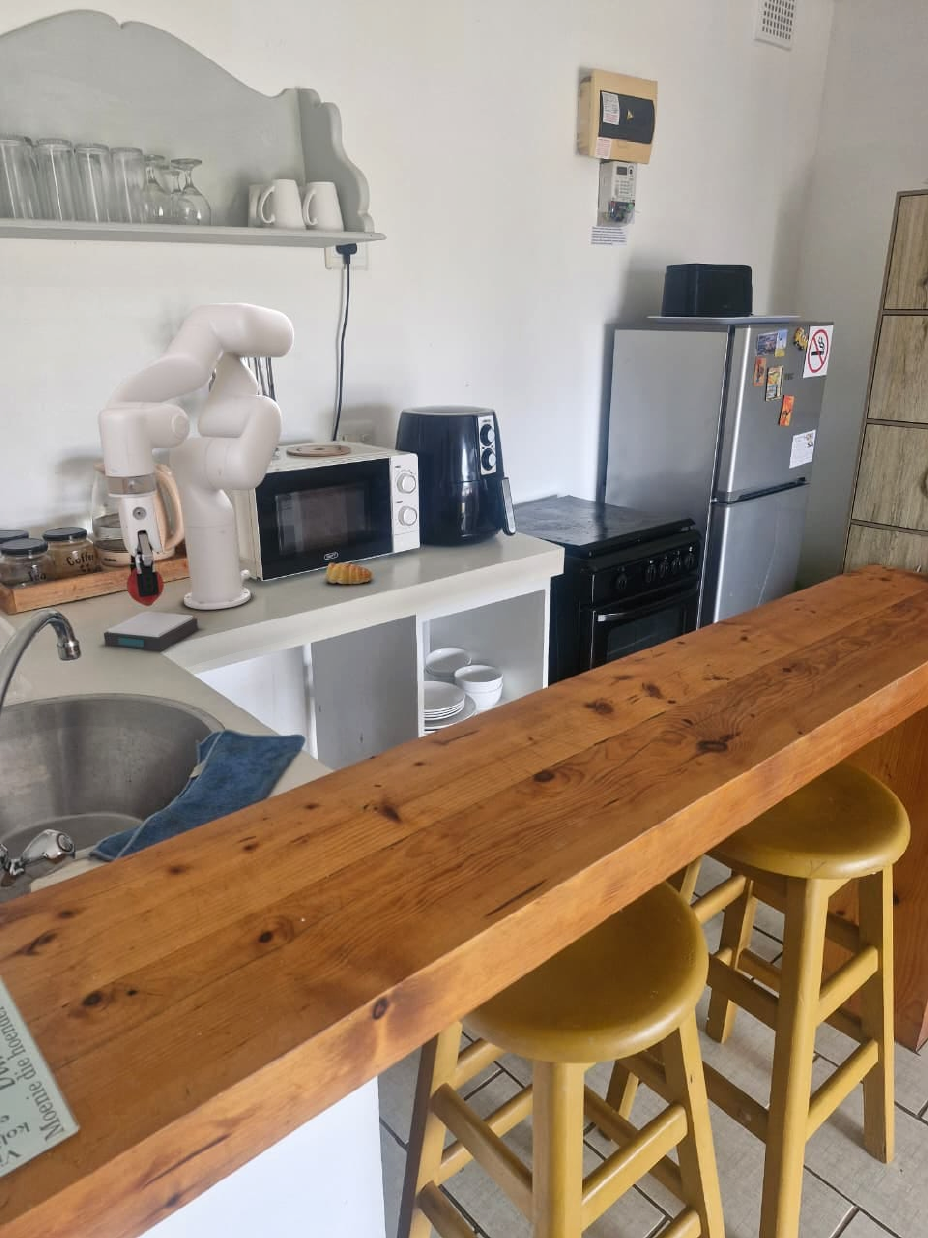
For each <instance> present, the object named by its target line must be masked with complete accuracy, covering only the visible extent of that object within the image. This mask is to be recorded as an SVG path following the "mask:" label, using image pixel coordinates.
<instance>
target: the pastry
mask: <svg viewBox="0 0 928 1238" xmlns="http://www.w3.org/2000/svg"><path fill="white" fill-rule="evenodd" d="M372 576H373V572H372V570H370V569H368V568H366V567H363V566H360V565H357V564H352V563H350V562H339V563H335V562H329V563H328V565H327V568H326V572H325V578H324V579H325V581H327V583H330V584H336V583H338V584H341V585H346V584H347V585H348V584H349V585H359V584H362V583H368V582H369V581H370V580H371V579H372Z"/></svg>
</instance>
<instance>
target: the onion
mask: <svg viewBox="0 0 928 1238" xmlns="http://www.w3.org/2000/svg"><path fill="white" fill-rule="evenodd" d="M136 573H138V571H137V568H135V569H134V570H133V571H132V573H131V572H130V574H129V575H128V578H127V579H126V580H127V581H126V589H127V592H128V594H129V596H130V597H131V599H133V600H134V601H135V602H137V603H139V604H141V605H143V606H145V607H150V606H152V605H153V604H154V602H156V600H158V599H159V598H160V596H162V593H163V591H164V587H165V586H164V585H165V584H164V579H163V577H162V575H161V574H160V573H159V572H158V571H157V579H158V586H159V594H158V595H153V596H145V597H140V596H139V592H138V585H137V578H136Z"/></svg>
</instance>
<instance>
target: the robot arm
mask: <svg viewBox="0 0 928 1238" xmlns="http://www.w3.org/2000/svg"><path fill="white" fill-rule="evenodd" d="M294 343H295V331H294V327H293V324H292V322H291V320H290V318H288V316H287V315H286V314H285V313H283V312H281V311H279V310H276V309H275V310H274V309H271V308H267V307H263V306H259V305H255V304H252V303H251V304H250V303H242V302H241V303H239V302H234V303H233V302H232V303H231V302H230V303H229V302H227V303H205V304H200V305H197V306H195V307H194V308H192V309H191V310H190V312H189V313H188V314H187V316H186V318H185V319H184V321H183V323H182V324H181V326H180V327H179V329H178V331H177V333H176V334H175V335H174V337H173V339H172V341H171V342H170V344H169V345H168V347H167V349H166V351H164V353H163V354H162V355H160V356H158V357H156V358H154V359H153V360H151V361H149V362H147V363H146V364H144V365H143V366H142V367H140V368H139V369H136V370H135V371H133V373H131V374H129V375H128V376H127V377H125V379H123V380H122V381H121V382H120V383H119V385H117V387H116V388H115V390H114V392H113V393H112V395H111V396H110V398H109V400H108V401H107V403H106V406H105V408H104V409H102V410H101V411H99V413H98V415H97V423H98V430H99V436H100V437H99V438H100V445H101V451H102V458H103V465H104V472H105V480H106V486H107V493H108V496H109V497H110V498H116V505H117V512H118V519H119V525H120V532H121V536H122V541H123V545H124V547H125V549H126V551H127V552H128V554H129V562H130V563H129V569H130V574H131V573H132V571H133V570H134V569H135V568H137V571H138V573H136V578H137V585H138V592H139V596H140V597H145V596H153V595H158V594H159V586H158V579H157V572H158V571H157V569H156V563H155V559H154V553H156V554H157V555H161V554H162V552H163V550H162V544H161V538H160V532H159V525H158V519H157V513H156V508H155V504H154V503H155V502H154V498H153V495H156V494H157V493H158V489H157V482H156V481H157V480H156V473H155V465H154V457H153V450H154V449H171V451H170V453H169V454H170V455H169V466H170V467H169V468H170V471H171V474H172V478H173V480H174V481H173V482H174V484H175V487H176V491H177V494H178V498H179V503H180V510H181V517H182V524H183V533H184V534H183V535H184V542H185V550H186V551H185V552H186V558H187V559H186V560H187V566H188V575H189V582H190V590H191V591H189V592H188V593H187V594H185V595H184V596H183V604H184V605H185V606H186V607H188V608H190V609H195V610H204V611H205V610H206V611H207V610H209V611H210V610H223V609H228V608H234V607H237V606H240V605H243V604H245V603H247V602H249V600H250V599H251V597H252V595H251V591H250V590H249V589H248V588H246V587H243V586H244V585H243V584H244V582H245V581H246V580H248V579H250V578H251V572H250V570H248V569H243V570H241V568H240V558H239V548H238V538H237V529H236V515H235V510H234V507H233V504H232V502H231V501H230V498H229V497H228V495H227V494H226V493H225V491H251V490H255V489H256V488H257V487H259V486H260V485H261V483H262V482H263V480H264V478H265V476H266V474H267V471H268V470H269V466H270V465H271V461H272V458H273V456H274V454H275V452H276V450H277V448H278V447H277V446H278V445H279V442H280V438H281V435H282V432H283V431H282V430H283V416H282V411H281V409H280V407H279V405H278V403H277V402H276V401H275V400H274V399H273V398H271V397H269V396H266V395H261V394H259V390H260V387H259V382H258V380H257V378H256V375H255V374H254V372H253V371H252V370H251V369H250V367H249V366H248V363H246V360H245V358H282V357H285V356H286V355H288V354H289V353H290V352H291V350H292V349H293V346H294ZM214 372H215V377H214V378H215V379H214V382H213V383H212V385H211V388H210V390H209V392H208V394H207V396H206V399H205V401H204V403H203V405H202V407H201V409H200V412H199V413H198V417H197V423H196V424H197V425H196V426H197V432H198V433H199V435H200V436H191V437H189V434H190V431H191V422H190V419H189V416H188V414H187V413H186V412H185V410H184V409H182V407H180V406H179V405H176V404H175V403H174V404H173V403H169V402H167V401H168V400H171V399H176V398H178V397H179V398H180V397H182V396H185V395H188V394H190V393H192V392H195V391H198V390H200V389H201V388H204V387H205V386H206V385H207V384H208V382H209V381H210V379H211V377H212V375H213V373H214ZM153 552H154V553H153Z"/></svg>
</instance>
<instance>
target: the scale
mask: <svg viewBox="0 0 928 1238" xmlns="http://www.w3.org/2000/svg"><path fill="white" fill-rule="evenodd" d="M197 631H199V624H198V618H197V617H193V615H190V614H188V615H187V614H178V613H167V612H157V611H146V610H144V611H142V612H140V613H138V614H136V615H134V616H132V617H129V618H127V619H125V620H123V621H122V622H120V623H117V624H116V625H113V626H111V627H109V628H107V631H105V632H103V638H104V644H105V646H106V647H107V646H108V647H118V648H128V649H136V650H146V651H156V652H162V651H164V650H166V649H168V648H169V647H171V646H174V645H175V644H177V643H178V642H180V641H181V640H183V639H185V638H187V637H188V636H190V635H192V634H194V633H196V632H197Z"/></svg>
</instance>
